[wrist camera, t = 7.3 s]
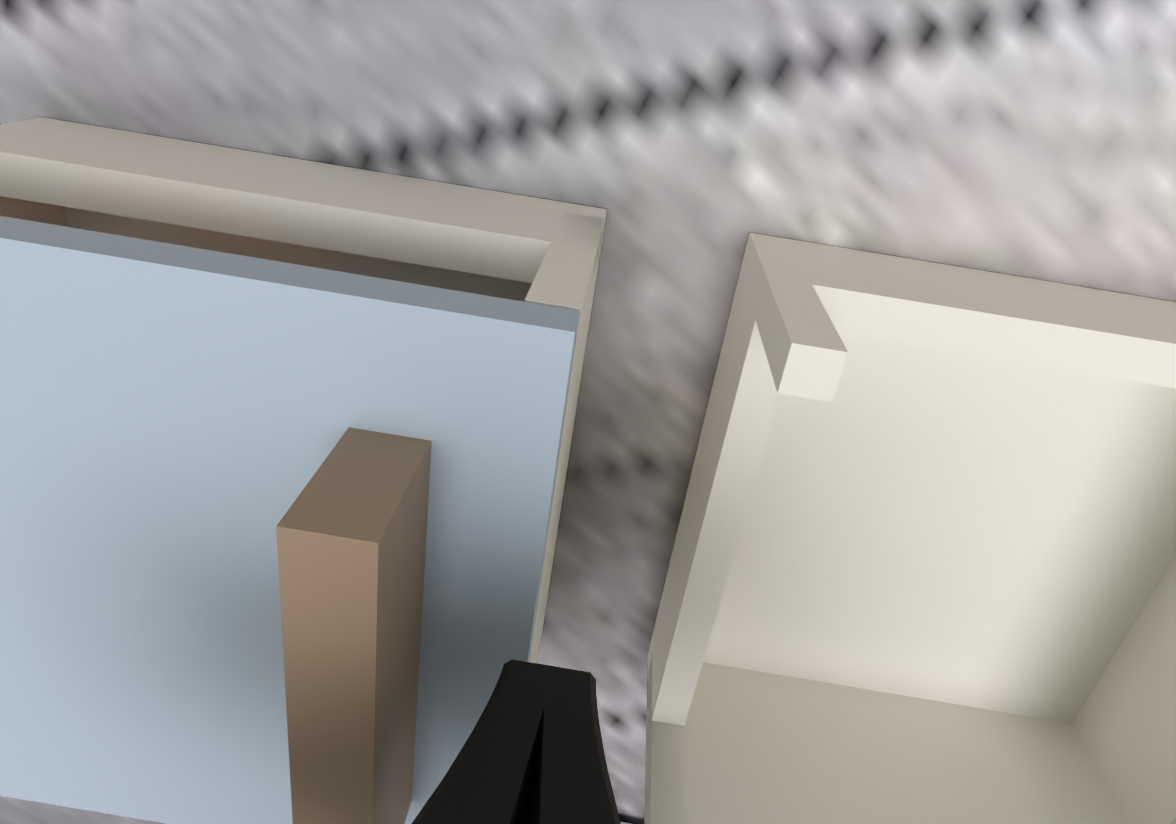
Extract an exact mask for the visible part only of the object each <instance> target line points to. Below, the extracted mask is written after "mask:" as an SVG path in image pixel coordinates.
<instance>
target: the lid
mask: <svg viewBox="0 0 1176 824" xmlns="http://www.w3.org/2000/svg"><path fill="white" fill-rule="evenodd" d="M579 317H580V311H578V310H572V309H565V308H559V307H553V306H547V305H541V304H535V303H529V302H523V301H517V300H511V299H504V298H498V297H492V296H486V295H480V294H474V293H468V292H462V291H456V290H450V289H443V288H437V287H431V286H425V285H419V284H413V283H407V282H401V281H395V280H389V279H382V278H376V277H370V276H364V275H358V274H352V273H346V272H340V271H334V270H328V269H321V268H315V267H309V266H303V265H297V264H291V263H285V262H279V261H273V260H267V259H260V258H254V257H248V256H242V255H236V254H230V253H224V252H218V251H212V250H206V249H199V248H193V247H187V246H181V245H175V244H169V243H163V242H157V241H151V240H145V239H138V238H132V237H126V236H120V235H114V234H108V233H102V232H96V231H90V230H84V229H77V228H71V227H65V226H59V225H53V224H47V223H41V222H35V221H29V220H23V219H16V218H10V217H4V216H0V796H6V797H12V798H18V799H24V800H30V801H36V802H41V803H47V804H53V805H59V806H65V807H71V808H77V809H83V810H89V811H95V812H101V813H107V814H112V815H118V816H124V817H130V818H136V819H142V820H148V821H154V822H160V823H166V824H411V823H412V822H413V821H414V819H415V818H416V816H417V815H418V814H419V812H420V811H421V809H422V808H423V806H424V805H425V804H426V802H427V801H428V799H429V798H430V796H431V795H432V794H433V792H434V791H435V789H436V788H437V786H438V785H439V784H440V782H441V781H442V779H443V778H444V776H445V775H446V773H447V772H448V770H449V768H450V767H451V765H452V763H453V762H454V760H455V759H456V757H457V755H458V754H459V752H460V750H461V749H462V747H463V746H464V744H465V742H466V741H467V739H468V737H469V736H470V734H471V732H472V731H473V729H474V727H475V725H476V723H477V722H478V720H479V718H480V716H481V714H482V713H483V711H484V709H485V707H486V705H487V703H488V701H489V699H490V697H491V695H492V693H493V690H494V688H495V686H496V684H497V681H498V679H499V677H500V674H501V671H502V668H503V665H504V663H506V662H508V661H510V660H512V659H513V660H519V661H525V662H529V660H530V653H531V646H532V639H533V633H534V626H535V619H536V612H537V605H538V598H539V592H540V585H541V578H542V571H543V564H544V557H545V550H546V544H547V537H548V530H549V523H550V516H551V509H552V502H553V496H554V489H555V482H556V475H557V468H558V461H559V454H560V448H561V441H562V434H563V427H564V420H565V413H566V407H567V400H568V393H569V386H570V379H571V372H572V365H573V359H574V352H575V345H576V338H577V331H578V324H579Z"/></svg>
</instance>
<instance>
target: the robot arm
mask: <svg viewBox="0 0 1176 824" xmlns="http://www.w3.org/2000/svg"><path fill="white" fill-rule="evenodd" d="M524 823H525V824H632V823H626V822H620V818H619V815H618V811H617V807H616V802H615V798H614V794H613V790H612V786H611V782H610V778H609V774H608V769H607V764H606V760H605V755H604V749H603V744H602V738H601V732H600V726H599V719H598V710H597V699H596V679H595V678H594V677H593V675H592V674H591V673H590V672H584V671H578V670H572V669H566V668H560V667H554V666H548V665H542V664H536V663H530V662H525V661H519V660H513V659H512V660H510V661H508V662H506V663H504V665H503V668H502V671H501V674H500V677H499V679H498V681H497V684H496V686H495V688H494V690H493V693H492V695H491V697H490V699H489V701H488V703H487V705H486V707H485V709H484V711H483V713H482V714H481V716H480V718H479V720H478V722H477V723H476V725H475V727H474V729H473V731H472V732H471V734H470V736H469V737H468V739H467V741H466V742H465V744H464V746H463V747H462V749H461V750H460V752H459V754H458V755H457V757H456V759H455V760H454V762H453V763H452V765H451V767H450V768H449V770H448V772H447V773H446V775H445V776H444V778H443V779H442V781H441V782H440V784H439V785H438V786H437V788H436V789H435V791H434V792H433V794H432V795H431V796H430V798H429V799H428V801H427V802H426V804H425V805H424V806H423V808H422V809H421V811H420V812H419V814H418V815H417V816H416V818H415V819H414V821H413V822H412V823H411V824H524Z"/></svg>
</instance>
